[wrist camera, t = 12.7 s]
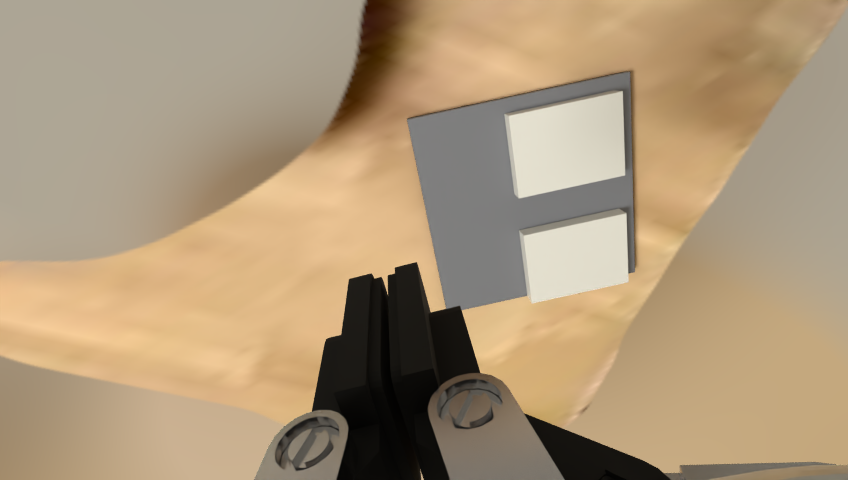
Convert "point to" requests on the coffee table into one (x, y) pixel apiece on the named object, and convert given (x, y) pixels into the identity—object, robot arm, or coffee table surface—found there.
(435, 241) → the mat
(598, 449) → the robot arm
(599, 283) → the tile
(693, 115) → the coffee table surface
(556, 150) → the tile
